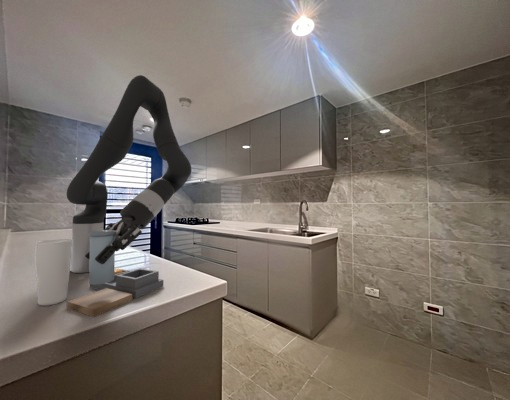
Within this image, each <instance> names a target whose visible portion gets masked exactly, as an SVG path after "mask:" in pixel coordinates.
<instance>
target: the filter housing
mask: <svg viewBox="0 0 510 400" xmlns="http://www.w3.org/2000/svg"><path fill="white" fill-rule="evenodd" d="M159 273H160V272H159V271H158V270H152V269H147V268H141V267H140V268H136V269H134V270H129V269H122V273H119V274H115V275H114V280H113V281H111V282H108V283H104V284H96V285H93V284H89V288H91V289H95V290H98V291H99V290H102V289H105V288H109V289H113V290H117V291H121V292H126V293H130V294H132V299H138V298H140V297H143V296H145V295H148V294H150V293H152V292H155V291H157V290H159V289H161V288H163V287H164V279H160V278H159V275H160V274H159Z"/></svg>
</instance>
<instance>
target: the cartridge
mask: <svg viewBox="0 0 510 400" xmlns="http://www.w3.org/2000/svg"><path fill="white" fill-rule="evenodd" d="M114 233H115V230H104V229H103V230H99V231H91V232H89V236H90V258H89V272H88V274H89V276H88V284H89V285H90V284H93V285H96V284H104V283H108V282H111V281H113V280H114V269H115V259H116V257H115V255H116V254H115V253H116V252H115V253H114V254H113V255H112V256H111V257H110V258H109V259H108V260H107V261H106V262H105V263H104V264H100V263H98V262H97V261H96V260H95V258H96V257H97V256H98V255H99V253H100V252H101V251H102V250H103V249H104V248H105V247H106V246H108V244H109V243H110V242H111V240H112V239H113V235H114Z"/></svg>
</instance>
